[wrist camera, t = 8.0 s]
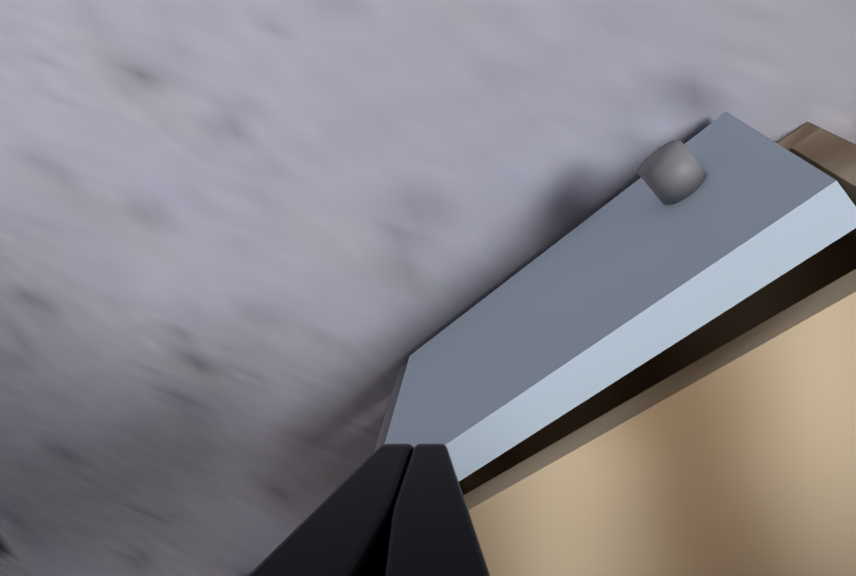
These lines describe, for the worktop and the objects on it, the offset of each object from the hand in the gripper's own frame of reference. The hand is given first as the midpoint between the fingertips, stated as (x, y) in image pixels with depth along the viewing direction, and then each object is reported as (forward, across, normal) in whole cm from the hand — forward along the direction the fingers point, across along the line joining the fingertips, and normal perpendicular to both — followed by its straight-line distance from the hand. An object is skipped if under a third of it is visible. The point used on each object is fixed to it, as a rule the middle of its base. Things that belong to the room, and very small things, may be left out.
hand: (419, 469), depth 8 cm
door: (+12, -2, +2) cm, 12 cm away
